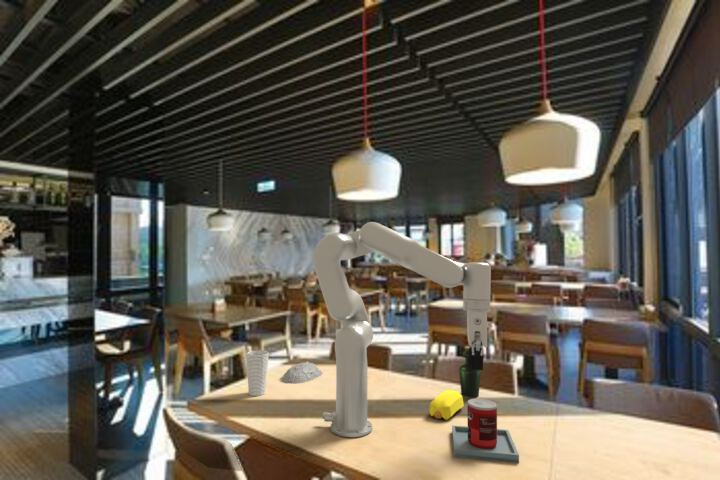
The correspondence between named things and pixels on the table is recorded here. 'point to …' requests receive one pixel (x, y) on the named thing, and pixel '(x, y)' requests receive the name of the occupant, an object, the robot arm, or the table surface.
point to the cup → (257, 371)
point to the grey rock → (301, 373)
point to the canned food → (482, 423)
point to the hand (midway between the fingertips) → (475, 365)
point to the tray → (501, 452)
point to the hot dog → (446, 404)
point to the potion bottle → (469, 377)
